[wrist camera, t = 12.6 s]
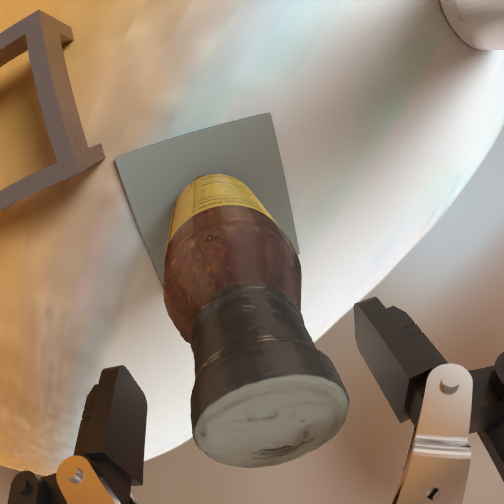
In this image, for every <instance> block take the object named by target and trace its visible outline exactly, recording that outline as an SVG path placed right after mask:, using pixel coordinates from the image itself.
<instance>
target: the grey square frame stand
mask: <svg viewBox="0 0 504 504" xmlns="http://www.w3.org/2000/svg"><path fill="white" fill-rule="evenodd" d="M73 40H74V39H73V34H72V29H71V27H69V26H67V25H66V24H64V23H62V22H60V21H59V20H57V19H55V18H53V17H51V16H50V15H48V14H46V13H44V12H42V11H40V10H38V11H36V12H34V13H33V14H31V15H29V16H27V17H26V18H24V19H22V20H21V21H19V22H17V23H16V24H14V25H13V26H11V27H9V28H8V29H6V30H5V31H3V32H2V33H0V67H1V66H3V65H4V64H6V63H7V62H9V61H11V60H12V59H14V58H15V57H17V56H19V55H20V54H22V53H24V52H25V51H27V50H28V52H29V58H30V63H31V68H32V73H33V77H34V82H35V86H36V90H37V95H38V99H39V103H40V107H41V110H42V114H43V118H44V121H45V125H46V129H47V132H48V135H49V139H50V142H51V145H52V148H53V152H54V155H55V158H56V161H57V162H56V163H54V164H52V165H50V166H48V167H46V168H43V169H41V170H39V171H37V172H35V173H33V174H31V175H29V176H27V177H25V178H23V179H22V180H20V181H18V182H16V183H14V184H12V185H10V186H8V187H6V188H5V189H3V190H1V191H0V210H2V209H4V208H6V207H8V206H10V205H12V204H14V203H16V202H18V201H20V200H22V199H24V198H26V197H28V196H30V195H32V194H34V193H36V192H38V191H41V190H43V189H45V188H47V187H49V186H51V185H54V184H56V183H58V182H60V181H63V180H65V179H67V178H70V177H72V176H74V175H77V174H79V173H81V172H82V171H84V170H86V169H87V168H89V167H91V166H92V165H94V164H96V163H97V162H99V161H101V160H102V159H104V158H105V156H104V152H103V149H102V146H101V143H100V144H98V145H95V146H93V147H90V148H88V145H87V142H86V139H85V135H84V132H83V129H82V125H81V122H80V118H79V115H78V111H77V108H76V104H75V100H74V96H73V93H72V89H71V85H70V81H69V76H68V72H67V68H66V64H65V59H64V54H63V50H62V45H64V44H66V43H69V42H71V41H73Z"/></svg>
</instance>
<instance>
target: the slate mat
mask: <svg viewBox="0 0 504 504" xmlns="http://www.w3.org/2000/svg"><path fill="white" fill-rule="evenodd" d="M115 162H116V165H117V168H118V171H119V174H120V177H121V180H122V183H123V186H124V189H125V191H126V194H127V197H128V200H129V203H130V205H131V208H132V211H133V214H134V216H135V219H136V222H137V224H138V227H139V230H140V232H141V235H142V237H143V240H144V243H145V245H146V248H147V250H148V253H149V255H150V258H151V260H152V263H153V265H154V267H155V270H156V272H157V275H158V277H159V279H160V282H161V284H162V286H163V283H164V260H165V253H166V247H167V241H168V236H169V229H170V224H171V219H172V214H173V209H174V206H175V204H176V202H177V198H178V196H179V195H180V193H181V192H182V190H183V189H184V188H185V187H186V186H187V185H188V184H189V183H191V182H192V181H193V180H195V178H196V177H199V176H202V175H210V174H224V175H228V176H231V177H234V178H236V179H238V180H239V181H241V182H242V183H244V184H245V185H246V186H247V187H248V188H249V189H250V190H251V191H252V193H253V194H254V195H255V196H256V198H257V199H258V200H259V202H260V203H261V204H262V205H263V207H264V208H265V209H266V210H267V212H268V213H269V214H270V215H271V217H272V218H273V219H274V220H275V222H276V223H277V224H278V225H279V226H280V228H281V229H282V230H283V231H284V232H285V234H286V235H287V237H288V238H289V239H290V241H291V242H292V244H293V246H294V249H295V251H296V253H297V255H298V254H300V253H299V248H298V242H297V237H296V232H295V227H294V222H293V217H292V212H291V207H290V202H289V197H288V192H287V187H286V182H285V178H284V173H283V168H282V164H281V159H280V154H279V150H278V145H277V141H276V137H275V132H274V128H273V123H272V119H271V115H270V113H266V114H262V115H257V116H253V117H249V118H244V119H240V120H236V121H232V122H228V123H225V124H221V125H217V126H213V127H210V128H206V129H202V130H199V131H195V132H192V133H189V134H185V135H182V136H179V137H175V138H172V139H169V140H166V141H163V142H160V143H157V144H154V145H151V146H148V147H145V148H142V149H139V150H136V151H133V152H130V153H128V154H125V155H122V156H119V157H117V158H115Z"/></svg>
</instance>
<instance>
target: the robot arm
mask: <svg viewBox="0 0 504 504" xmlns="http://www.w3.org/2000/svg"><path fill="white" fill-rule="evenodd" d="M440 3H441V6H442V9H443V12H444V14H445V16H446V18H447V20H448V22H449V24H450V25H451V27H452V29H453V30H454V31H455V33H456V34H457V35H458V36H459V37H460V38H461V39H462V40H463V41H464V42H465V43H466V44H468V45H469V46H471V47H473V48H475V49H479V50H504V0H440ZM354 320H355V338H356V343H357V346H358V349H359V352H360V353H361V355H362V357H363V359H364V360H365V362H366V364H367V365H368V367H369V369H370V371H371V372H372V374H373V376H374V378H375V379H376V381H377V383H378V385H379V386H380V388H381V390H382V392H383V393H384V395H385V397H386V398H387V400H388V402H389V404H390V406H391V407H392V409H393V411H394V413H395V414H396V416H397V418H398V420H399V422H400V423H402V422H404V421H406V420H408V419H411V421H412V423H413V424H414V429H413V433H412V437H411V442H410V445H409V449H408V453H407V456H406V460H405V464H404V467H403V470H402V473H401V476H400V479H399V482H398V485H397V488H396V491H395V493H394V496H393V499H392V502H391V504H462V501H463V497H464V492H465V487H466V482H467V477H468V472H469V466H470V459H471V447H470V446H469V445H468V435H469V434H470V433H474V432H477V433H478V435H479V437H480V439H481V440H482V442H483V444H484V445H485V448H486V449H487V451H488V453H489V455H490V457H491V458H492V460H493V462H494V464H495V466H496V468H497V470H498V472H499V474H500V476H501V477H502V479H503V481H504V352H503V353H502V354H500V355H499V356H498V358H497V360H496V362H495V365H494V366H490V367H486V368H481V369H477V370H471V371H467V370H466V369H465V368H464V367H462V366H460V365H457V364H449V363H448V362H447V361H446V360H445V359H444V358H443V356H442V355H441V354H440V353H439V352H438V350H437V349H436V348H435V347H434V345H433V344H432V343H431V342H430V340H429V339H428V338H427V337H426V336H425V335H424V333H422V332H421V330H420V328H419V327H418V326H417V325H416V324H415V323H414V321H413V320H412V319H411V318H410V317H409V315H408V314H407V313H406V312H404V311H402V310H400V309H398V308H396V307H395V306H392V307H389V308H385V307H384V305H383V304H382V303H381V302H380V300H379V299H378V298H377V297H372V298H369V299H367V300H364V301H361V302H358V303H355V304H354ZM84 409H85V410H84V411H83V415H82V419H83V420H81V424H80V428H79V432H78V437H77V441H76V446H75V451H74V455H73V456H71V457H68V458H67V459H65V460H64V461H63V462H62V463H61V464H60V466H59V467H58V470H57V473H55V474H52V475H48V476H45V477H42V478H39V477H38V476H36V475H35V474H34V473H32V472H31V471H22V472H20V473H19V474H17V475H16V476H15V478H14V479H13V481H12V483H11V488H10V493H9V499H8V504H139V502H138V501H137V500H136V499H135V497H134V496H133V495H132V494H131V493H130V491H131V486H136V485H137V486H138V485H143V464H144V446H145V432H146V419H147V401H146V398H145V395H144V393H143V391H142V390H141V388H140V387H139V386H138V384H137V383H136V381H135V380H134V378H133V377H132V376H131V374H130V373H129V371H128V370H127V368H126V367H125V366H123V365H121V366H116V367H111V368H105V369H103V370H102V372H101V376H100V380H99V384H97V385H94V387H93V388H92V390H91V391H90V393H89V394H88V396H87V399H86V403H85V407H84Z"/></svg>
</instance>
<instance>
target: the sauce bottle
mask: <svg viewBox="0 0 504 504" xmlns="http://www.w3.org/2000/svg"><path fill="white" fill-rule="evenodd" d="M163 289H164V302H165V306H166V308H167V312H168V315H169V317H170V318H171V320H172V321H173V323H174V325H175V327H176V328H177V329H178V331H179V332H180V334H181V336H182V337H183V338H184V340H185V341H186V342H188V343H190V344H191V348H192V351H193V353H194V359H195V377H196V379H195V384H194V387H193V390H192V395H191V422H192V434H193V437H194V440H195V443H196V445H197V446H198V447H199V449H200V450H202V451H204V452H205V453H206V454H207V455H208V456H209V457H210V458H212V459H213V460H215V461H217V462H220V463H223V464H226V465H231V466H237V467H245V468H255V467H265V466H274V465H278V464H281V463H284V462H288V461H291V460H294V459H296V458H299V457H301V456H302V455H304V454H306V453H308V452H310V451H313V450H315V449H317V448H319V447H320V446H322V445H323V444H324V443H326V442H327V441H329V440H330V439H332V438H333V437H334V436H335V435H336V433H337V432H338V431H339V430H340V428H341V426H342V425H343V424H344V422H345V419H346V415H347V412H348V406H349V397H348V394H347V392H346V390H345V387H344V385H343V383H342V381H341V379H340V376H339V374H338V373H337V371H336V369H335V367H334V365H333V363H332V362H331V360H330V358H329V357H328V356H327V355H325V354H323V353H322V352H321V351H319V350H317V349H316V347H315V345H314V343H313V341H312V339H311V337H310V335H309V333H308V331H307V330H306V328H305V326H304V321H303V317H302V314H301V312H300V311H301V266H300V262H299V258H298V255H297V253H296V251H295V249H294V246H293V244H292V242H291V241H290V239H289V238H288V237H287V235H286V234H285V232H284V231H283V230H282V229H281V228H280V226H279V225H278V224H277V223H276V222H275V220H274V219H273V218H272V217H271V215H270V214H269V213H268V212H267V210H266V209H265V208H264V207H263V205H262V204H261V203H260V202H259V200H258V199H257V198H256V196H255V195H254V194H253V193H252V191H251V190H250V189H249V188H248V187H247V186H246V185H245V184H244V183H242V182H241V181H239V180H238V179H236V178H234V177H231V176H228V175H224V174H210V175H202V176H199V177H196V178H195V180H193V181H192V182H191V183H189V184H188V185H187V186H186V187H185V188H184V189H183V190H182V192H181V193H180V195H179V196H178V198H177V202H176V204H175V206H174V209H173V214H172V219H171V224H170V229H169V236H168V241H167V247H166V253H165V260H164V283H163Z"/></svg>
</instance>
